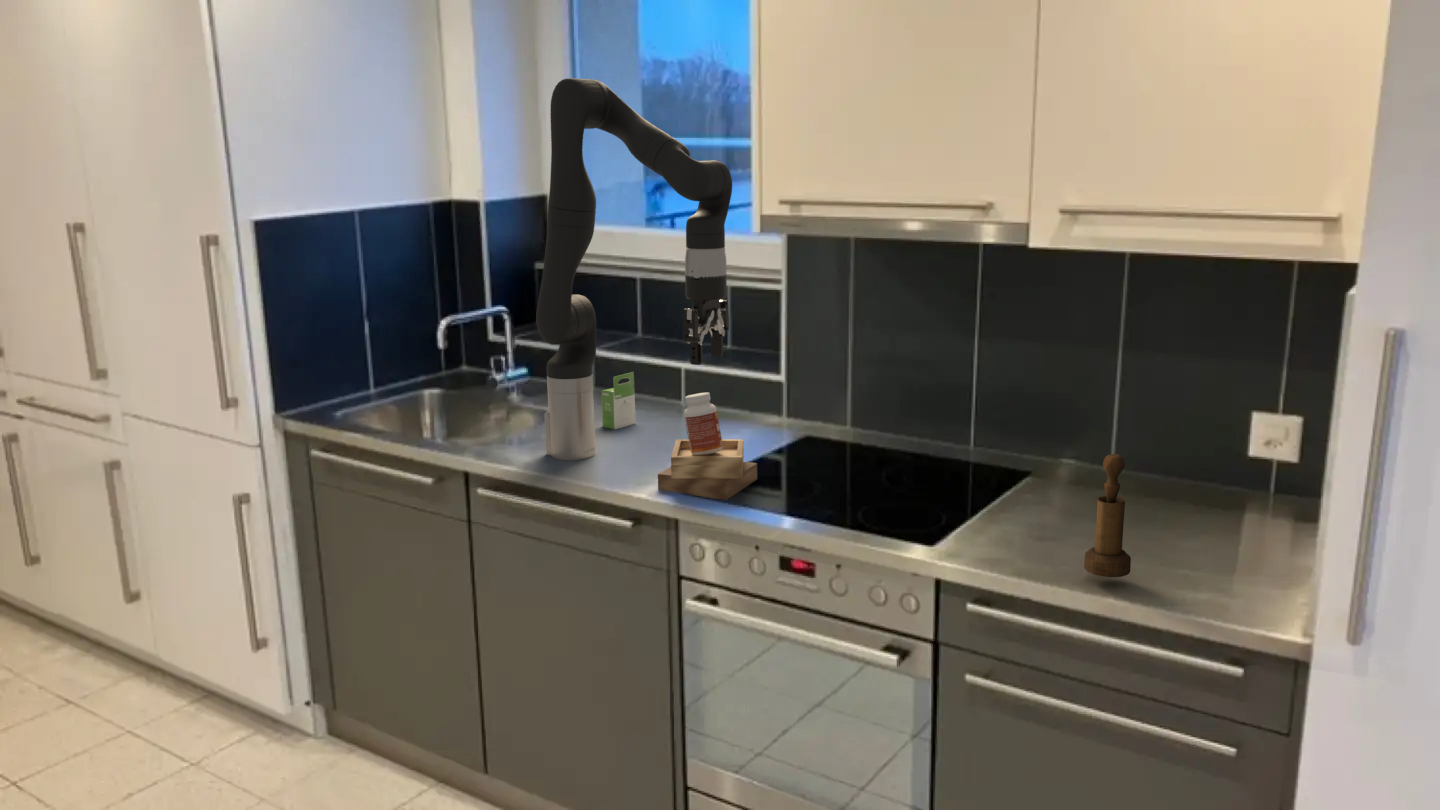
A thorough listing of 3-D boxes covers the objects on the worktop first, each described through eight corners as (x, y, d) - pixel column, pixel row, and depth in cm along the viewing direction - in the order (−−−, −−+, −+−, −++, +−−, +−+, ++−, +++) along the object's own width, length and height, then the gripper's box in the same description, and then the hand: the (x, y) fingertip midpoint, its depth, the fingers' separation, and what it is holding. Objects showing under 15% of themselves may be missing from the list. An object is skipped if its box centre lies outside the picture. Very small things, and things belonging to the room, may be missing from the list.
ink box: (623, 427, 272) (621, 369, 269) (636, 430, 269) (634, 371, 266) (602, 433, 267) (600, 374, 264) (615, 436, 264) (613, 376, 261)
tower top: (671, 478, 219) (671, 457, 218) (676, 459, 232) (676, 439, 231) (742, 478, 219) (742, 457, 218) (743, 459, 231) (743, 439, 230)
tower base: (658, 494, 223) (657, 473, 222) (692, 475, 235) (691, 455, 234) (726, 503, 217) (725, 482, 216) (757, 483, 229) (757, 463, 228)
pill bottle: (728, 450, 223) (718, 392, 222) (698, 457, 221) (687, 398, 220) (716, 447, 229) (706, 390, 228) (686, 454, 227) (676, 397, 225)
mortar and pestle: (1082, 574, 179) (1089, 458, 175) (1085, 560, 184) (1092, 447, 180) (1129, 579, 176) (1137, 462, 172) (1131, 565, 182) (1138, 451, 178)
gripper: (704, 267, 225) (705, 352, 229) (669, 276, 213) (670, 365, 216) (740, 269, 222) (741, 355, 225) (707, 277, 209) (708, 368, 213)
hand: (706, 360), depth 221 cm, fingers open, 8 cm apart
